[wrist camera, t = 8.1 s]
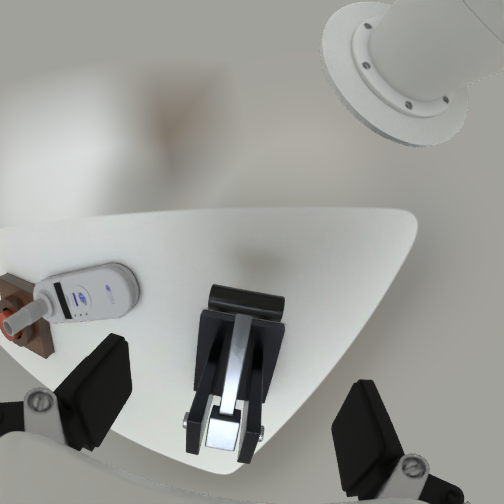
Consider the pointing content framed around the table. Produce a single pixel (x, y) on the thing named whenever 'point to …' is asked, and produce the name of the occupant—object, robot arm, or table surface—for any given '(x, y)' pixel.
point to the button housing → (14, 298)
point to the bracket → (213, 374)
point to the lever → (236, 355)
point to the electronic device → (79, 297)
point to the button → (3, 316)
